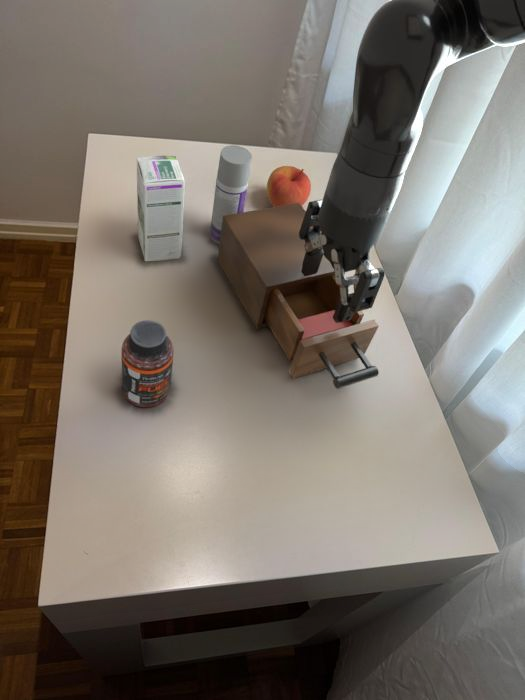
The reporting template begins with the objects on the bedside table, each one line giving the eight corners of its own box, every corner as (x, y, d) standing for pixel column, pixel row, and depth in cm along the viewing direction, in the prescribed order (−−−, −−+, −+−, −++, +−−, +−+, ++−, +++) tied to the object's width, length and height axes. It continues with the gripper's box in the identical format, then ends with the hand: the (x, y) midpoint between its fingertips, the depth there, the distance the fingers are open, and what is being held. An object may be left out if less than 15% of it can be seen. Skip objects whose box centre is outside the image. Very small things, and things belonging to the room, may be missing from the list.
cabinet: (331, 309, 86) (347, 268, 80) (256, 328, 82) (266, 287, 75) (287, 244, 94) (299, 202, 87) (216, 259, 89) (222, 215, 82)
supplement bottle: (139, 417, 70) (138, 363, 61) (113, 383, 72) (109, 326, 63) (179, 395, 73) (185, 339, 64) (153, 363, 75) (155, 305, 66)
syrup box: (181, 259, 88) (188, 179, 76) (143, 263, 86) (143, 182, 74) (173, 233, 91) (178, 154, 79) (136, 237, 89) (135, 155, 78)
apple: (261, 192, 101) (269, 152, 95) (301, 195, 102) (311, 156, 96) (265, 220, 96) (274, 180, 90) (307, 222, 98) (318, 183, 92)
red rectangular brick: (334, 323, 82) (341, 308, 79) (345, 340, 80) (352, 324, 78) (285, 337, 79) (290, 321, 76) (296, 355, 77) (301, 339, 75)
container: (227, 222, 94) (239, 141, 83) (244, 239, 93) (259, 159, 81) (204, 231, 92) (213, 149, 80) (221, 249, 90) (233, 168, 79)
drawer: (384, 387, 78) (402, 357, 72) (312, 412, 73) (325, 382, 68) (317, 289, 87) (329, 256, 82) (250, 305, 83) (258, 272, 78)
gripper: (425, 230, 60) (376, 329, 73) (356, 151, 67) (322, 253, 80) (366, 243, 57) (325, 343, 70) (300, 159, 64) (274, 264, 77)
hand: (324, 295), depth 75 cm, fingers open, 8 cm apart
